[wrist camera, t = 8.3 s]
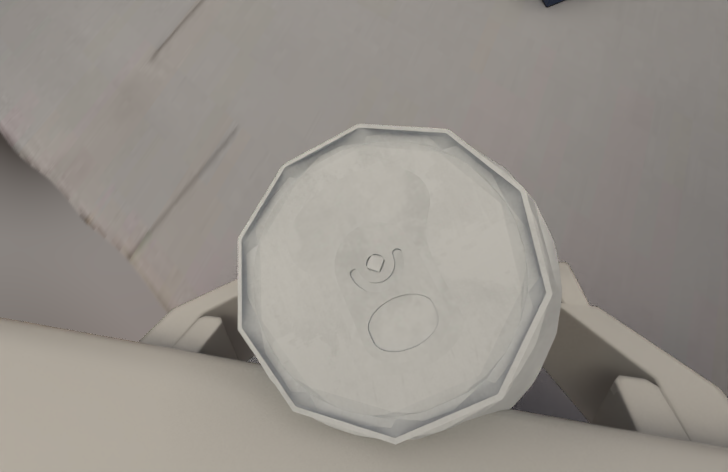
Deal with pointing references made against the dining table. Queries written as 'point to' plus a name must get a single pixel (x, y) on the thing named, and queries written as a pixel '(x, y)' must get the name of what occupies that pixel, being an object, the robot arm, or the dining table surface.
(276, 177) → the coffee can
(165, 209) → the dining table surface
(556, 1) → the bin
